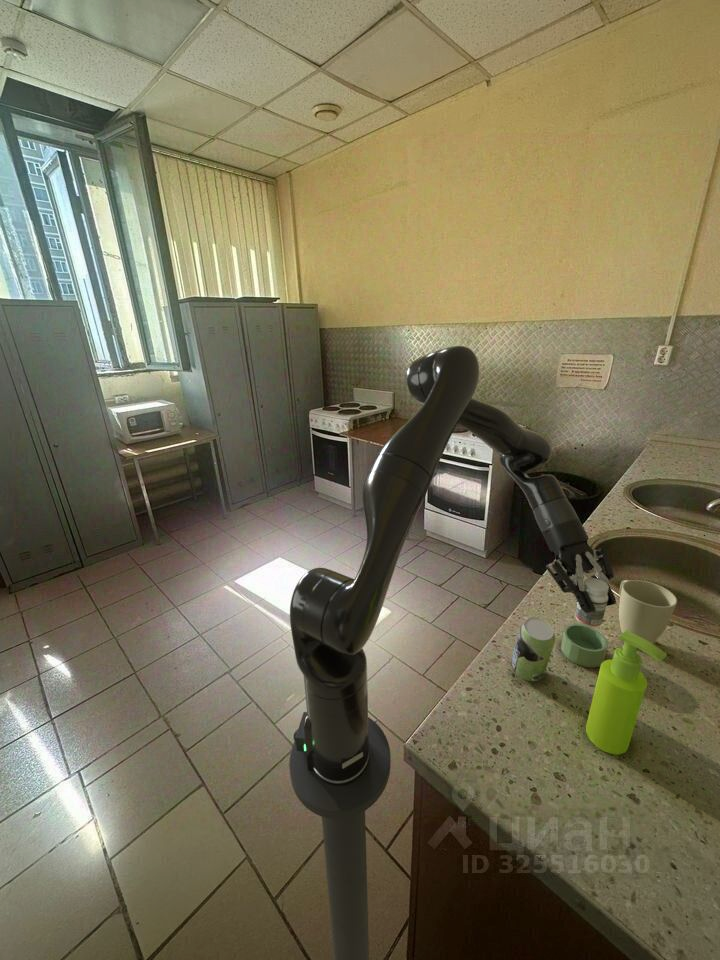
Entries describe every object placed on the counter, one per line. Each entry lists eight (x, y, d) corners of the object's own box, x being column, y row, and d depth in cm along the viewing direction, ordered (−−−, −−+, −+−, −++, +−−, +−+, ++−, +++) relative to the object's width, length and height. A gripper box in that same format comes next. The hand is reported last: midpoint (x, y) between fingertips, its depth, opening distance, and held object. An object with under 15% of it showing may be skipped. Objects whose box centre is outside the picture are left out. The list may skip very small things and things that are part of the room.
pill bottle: (576, 608, 80) (583, 573, 77) (602, 616, 78) (611, 581, 75) (573, 621, 77) (580, 585, 74) (600, 631, 74) (610, 594, 71)
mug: (671, 642, 82) (686, 594, 78) (651, 664, 77) (666, 613, 73) (615, 614, 91) (626, 569, 86) (593, 632, 85) (603, 585, 81)
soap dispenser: (623, 768, 59) (654, 664, 52) (578, 731, 64) (601, 633, 57) (642, 747, 62) (675, 646, 55) (598, 713, 67) (622, 618, 60)
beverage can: (532, 657, 79) (540, 608, 75) (555, 687, 72) (565, 635, 68) (503, 661, 78) (509, 612, 74) (523, 692, 71) (532, 640, 67)
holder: (568, 665, 77) (571, 649, 76) (556, 637, 84) (559, 622, 83) (610, 669, 76) (614, 653, 74) (594, 641, 83) (598, 625, 81)
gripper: (572, 524, 86) (612, 602, 80) (520, 537, 81) (558, 621, 75) (598, 511, 80) (644, 595, 73) (544, 524, 75) (587, 615, 68)
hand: (600, 608), depth 74 cm, fingers closed on pill bottle, 4 cm apart
